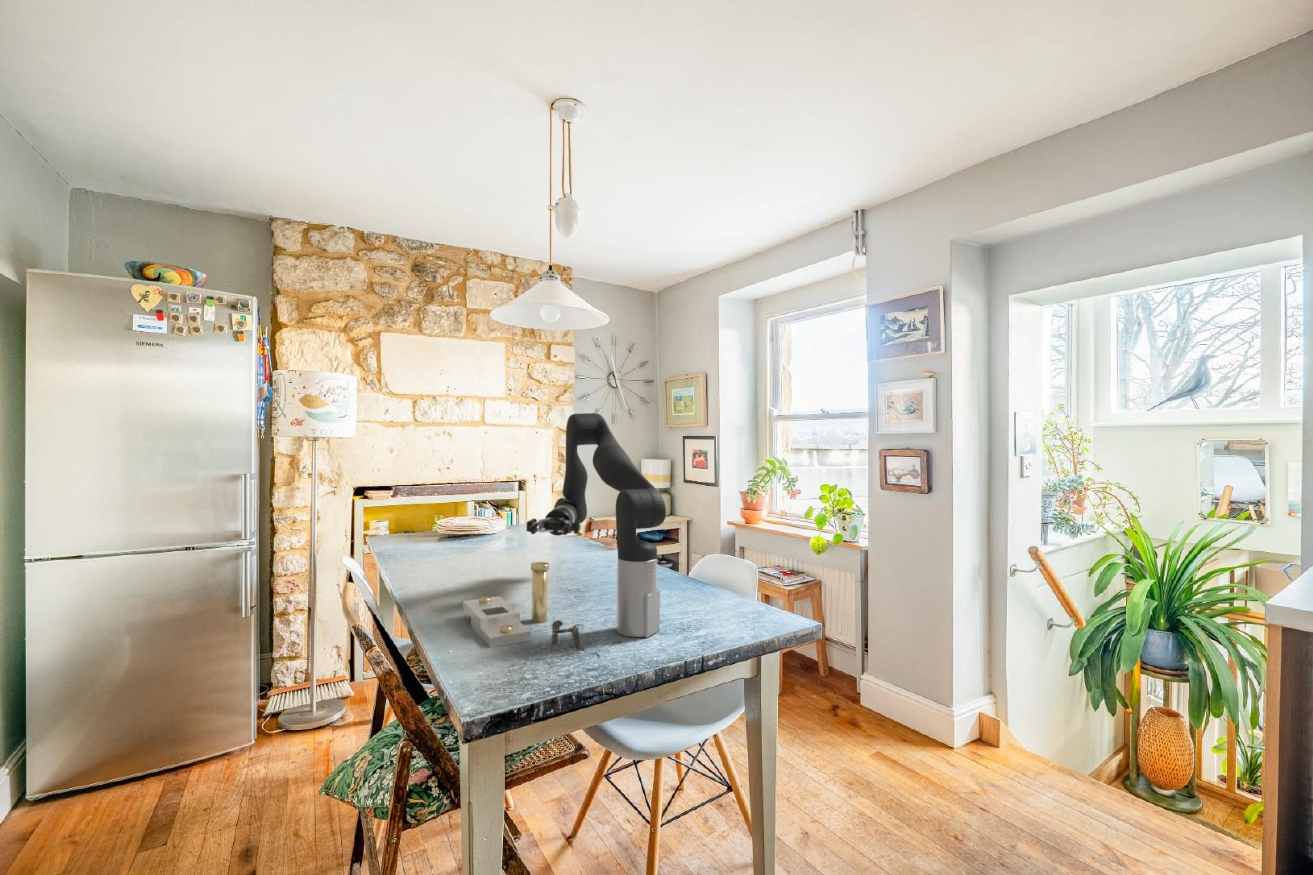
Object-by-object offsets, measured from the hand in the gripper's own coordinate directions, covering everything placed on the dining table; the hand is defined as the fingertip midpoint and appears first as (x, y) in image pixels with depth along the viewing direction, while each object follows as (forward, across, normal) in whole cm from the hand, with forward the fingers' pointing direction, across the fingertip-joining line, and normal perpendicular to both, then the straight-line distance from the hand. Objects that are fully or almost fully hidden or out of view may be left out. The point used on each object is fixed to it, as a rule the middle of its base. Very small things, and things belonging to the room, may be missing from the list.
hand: (548, 530), depth 153 cm
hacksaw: (+24, +11, +20) cm, 33 cm away
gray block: (+17, -9, +20) cm, 28 cm away
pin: (+11, 0, +20) cm, 23 cm away
